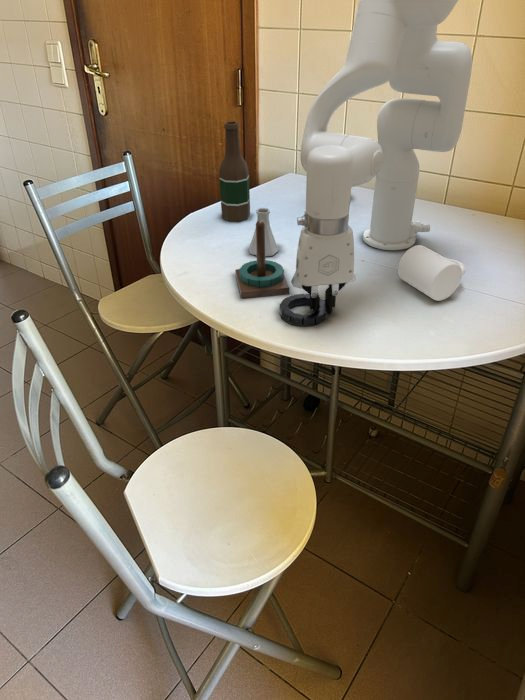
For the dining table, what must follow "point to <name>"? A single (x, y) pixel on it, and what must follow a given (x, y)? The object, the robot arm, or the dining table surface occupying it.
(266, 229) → the flask
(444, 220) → the dining table surface
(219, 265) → the dining table surface
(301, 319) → the graphite ring
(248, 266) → the teal ring
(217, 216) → the dining table surface
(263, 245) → the stand
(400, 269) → the mug
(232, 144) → the beer bottle
